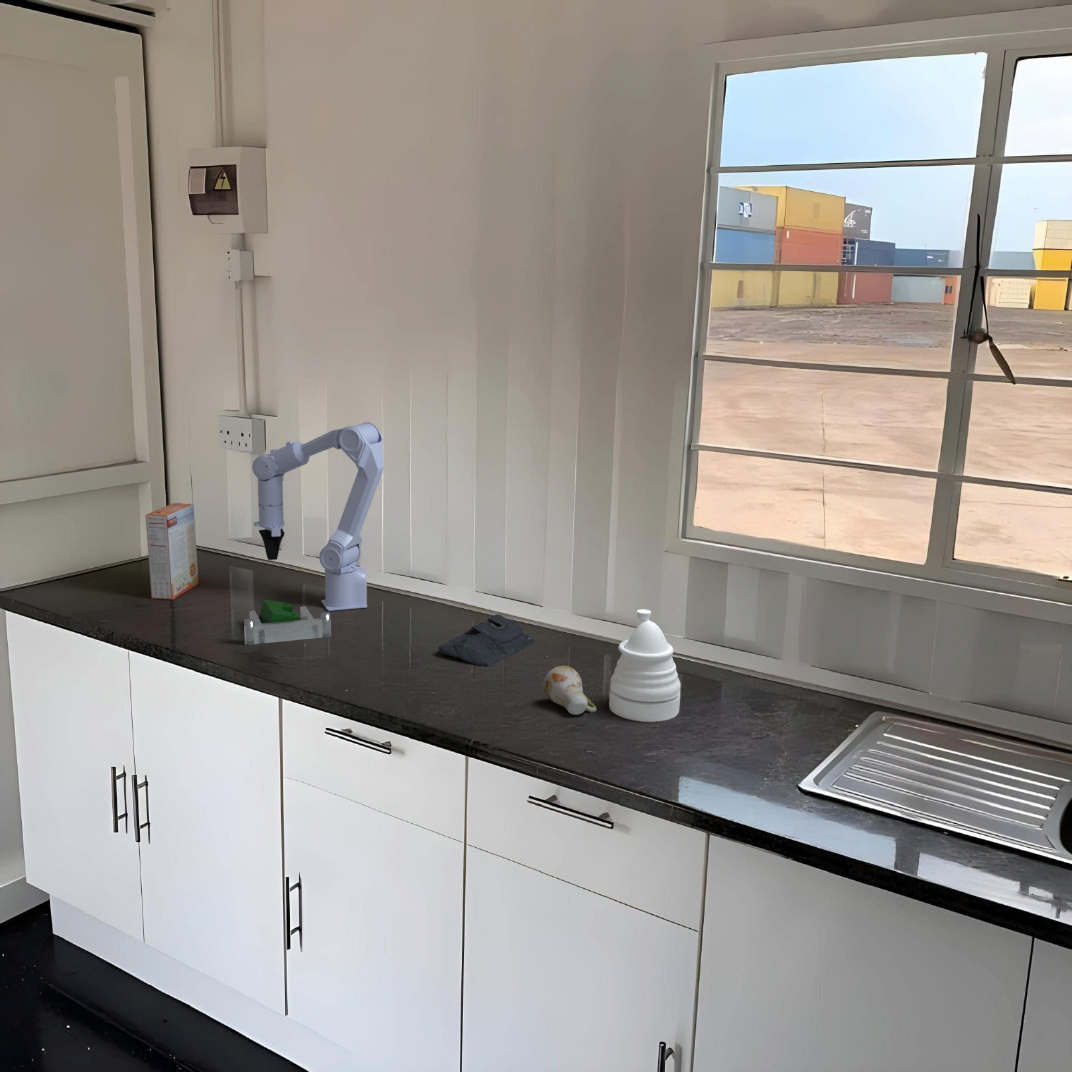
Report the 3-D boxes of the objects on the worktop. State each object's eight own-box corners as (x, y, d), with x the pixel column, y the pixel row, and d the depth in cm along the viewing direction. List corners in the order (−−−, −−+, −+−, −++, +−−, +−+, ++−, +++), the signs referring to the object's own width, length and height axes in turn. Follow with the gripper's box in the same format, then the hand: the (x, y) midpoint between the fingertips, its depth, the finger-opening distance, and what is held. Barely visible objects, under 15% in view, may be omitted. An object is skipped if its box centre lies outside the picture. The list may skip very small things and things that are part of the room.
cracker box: (176, 583, 261) (172, 502, 256) (199, 585, 260) (195, 503, 255) (148, 599, 247) (144, 513, 243) (172, 600, 246) (168, 514, 242)
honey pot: (597, 699, 194) (601, 607, 190) (656, 691, 199) (662, 601, 195) (629, 725, 183) (635, 628, 178) (692, 716, 188) (699, 621, 184)
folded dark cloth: (425, 657, 215) (426, 635, 214) (481, 629, 234) (481, 609, 233) (489, 671, 208) (489, 648, 207) (540, 641, 227) (541, 620, 226)
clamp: (289, 654, 226) (302, 622, 222) (262, 651, 223) (274, 619, 219) (283, 619, 235) (295, 588, 231) (257, 615, 232) (268, 584, 228)
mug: (565, 723, 183) (546, 670, 185) (553, 726, 193) (534, 675, 194) (603, 709, 186) (584, 656, 187) (589, 712, 195) (570, 662, 196)
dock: (318, 617, 237) (317, 596, 236) (331, 637, 224) (331, 614, 223) (237, 625, 230) (236, 602, 229) (245, 645, 217) (244, 621, 216)
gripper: (249, 499, 252) (251, 553, 255) (257, 510, 239) (259, 567, 242) (278, 497, 255) (280, 551, 258) (288, 509, 242) (290, 565, 245)
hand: (272, 559), depth 250 cm, fingers closed
